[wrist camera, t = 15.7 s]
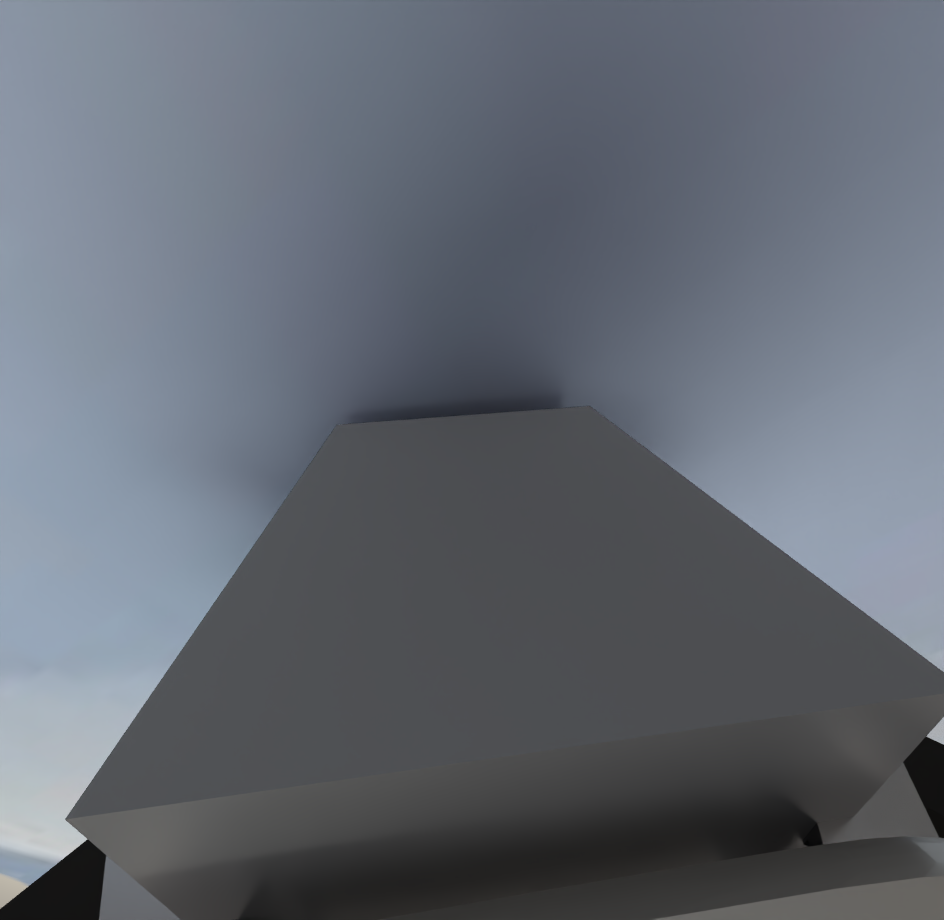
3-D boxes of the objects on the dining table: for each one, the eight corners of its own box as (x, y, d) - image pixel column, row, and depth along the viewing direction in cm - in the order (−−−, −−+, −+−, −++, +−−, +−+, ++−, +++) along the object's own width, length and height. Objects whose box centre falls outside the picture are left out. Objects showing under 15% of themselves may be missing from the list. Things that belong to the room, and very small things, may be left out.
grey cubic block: (336, 424, 11) (64, 820, 3) (589, 405, 11) (966, 689, 3) (377, 611, 14) (308, 1029, 6) (570, 590, 15) (735, 948, 7)
